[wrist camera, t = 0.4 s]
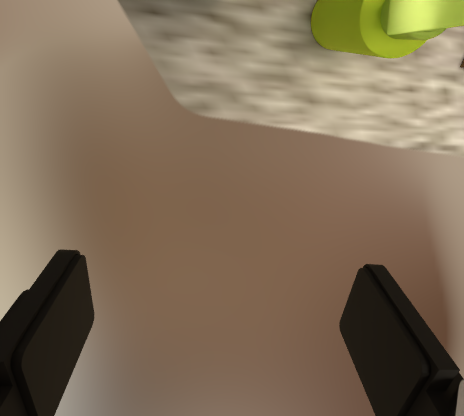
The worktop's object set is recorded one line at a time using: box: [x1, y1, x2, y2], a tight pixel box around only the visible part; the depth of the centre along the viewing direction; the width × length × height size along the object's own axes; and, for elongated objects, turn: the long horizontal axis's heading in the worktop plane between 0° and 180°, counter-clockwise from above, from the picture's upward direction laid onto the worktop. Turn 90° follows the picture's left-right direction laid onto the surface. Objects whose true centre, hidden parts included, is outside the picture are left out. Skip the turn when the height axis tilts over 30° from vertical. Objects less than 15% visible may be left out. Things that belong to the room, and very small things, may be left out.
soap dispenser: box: [311, 0, 464, 58], centre depth 25 cm, size 6×7×20 cm
